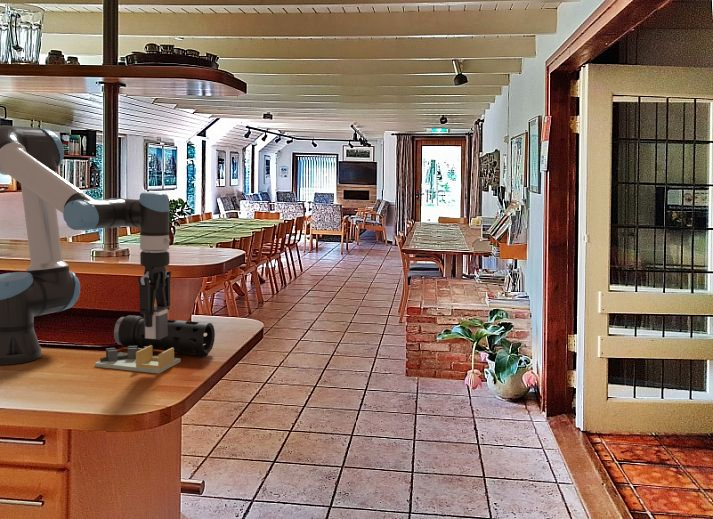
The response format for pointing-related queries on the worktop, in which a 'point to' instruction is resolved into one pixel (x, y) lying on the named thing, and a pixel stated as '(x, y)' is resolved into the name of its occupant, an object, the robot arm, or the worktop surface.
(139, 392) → the worktop surface
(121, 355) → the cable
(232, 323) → the worktop surface
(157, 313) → the plug
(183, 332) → the muzzle brake
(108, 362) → the board
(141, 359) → the end holder
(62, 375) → the worktop surface
